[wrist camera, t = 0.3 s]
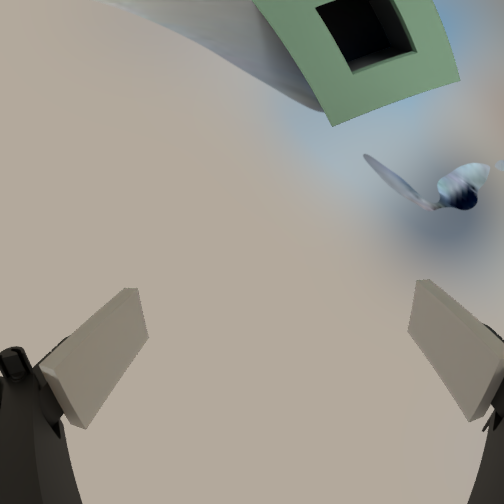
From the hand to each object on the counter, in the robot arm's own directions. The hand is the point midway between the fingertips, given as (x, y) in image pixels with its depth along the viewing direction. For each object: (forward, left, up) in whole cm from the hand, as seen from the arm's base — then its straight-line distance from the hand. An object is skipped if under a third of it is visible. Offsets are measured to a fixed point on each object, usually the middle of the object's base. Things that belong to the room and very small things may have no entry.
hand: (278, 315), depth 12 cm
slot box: (-5, +12, -35) cm, 37 cm away
